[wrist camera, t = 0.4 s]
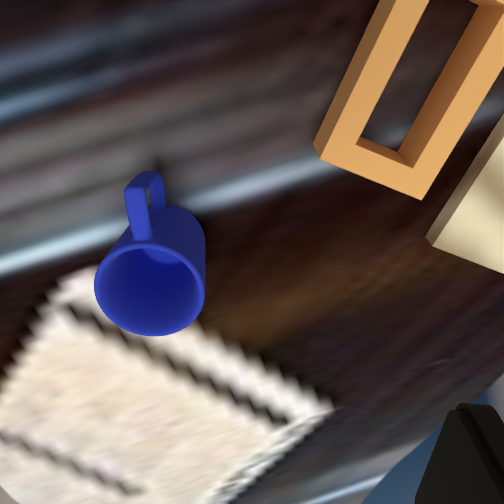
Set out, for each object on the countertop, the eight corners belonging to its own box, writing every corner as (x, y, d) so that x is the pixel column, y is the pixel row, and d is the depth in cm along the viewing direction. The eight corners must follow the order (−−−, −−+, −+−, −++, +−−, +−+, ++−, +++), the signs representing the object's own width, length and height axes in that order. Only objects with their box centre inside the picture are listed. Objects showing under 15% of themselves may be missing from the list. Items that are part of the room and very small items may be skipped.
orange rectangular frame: (411, -67, 33) (433, -76, 29) (517, -12, 35) (551, -13, 31) (312, 143, 40) (319, 159, 36) (405, 181, 42) (421, 200, 38)
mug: (203, 147, 41) (191, 189, 32) (217, 270, 46) (209, 334, 37) (107, 153, 41) (68, 196, 32) (132, 274, 46) (105, 340, 38)
